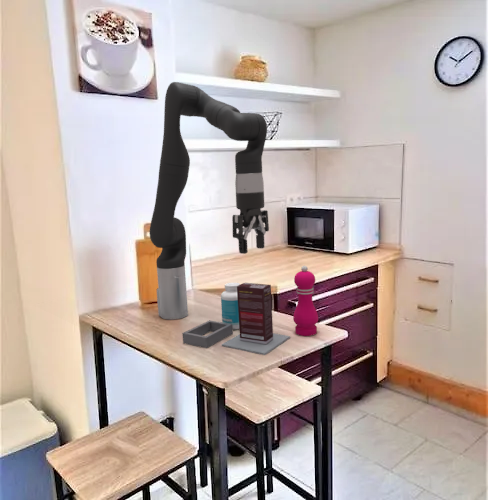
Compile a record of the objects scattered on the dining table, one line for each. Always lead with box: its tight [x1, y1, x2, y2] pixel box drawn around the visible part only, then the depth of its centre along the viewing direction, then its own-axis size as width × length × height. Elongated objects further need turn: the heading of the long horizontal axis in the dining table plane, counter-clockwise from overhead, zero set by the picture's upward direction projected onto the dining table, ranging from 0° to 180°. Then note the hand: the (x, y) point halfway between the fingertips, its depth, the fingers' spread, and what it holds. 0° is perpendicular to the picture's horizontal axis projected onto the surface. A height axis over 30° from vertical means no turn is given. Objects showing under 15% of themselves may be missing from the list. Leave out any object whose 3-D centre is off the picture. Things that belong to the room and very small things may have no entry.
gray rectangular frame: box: [182, 320, 234, 349], centre depth 136 cm, size 8×12×3 cm
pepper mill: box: [292, 265, 319, 337], centre depth 135 cm, size 7×7×20 cm
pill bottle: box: [220, 282, 241, 330], centre depth 144 cm, size 8×7×14 cm
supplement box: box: [237, 282, 274, 344], centre depth 130 cm, size 9×5×16 cm, turn 60°
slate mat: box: [221, 332, 291, 356], centre depth 131 cm, size 14×14×1 cm
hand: (252, 250), depth 127 cm, fingers open, 8 cm apart
